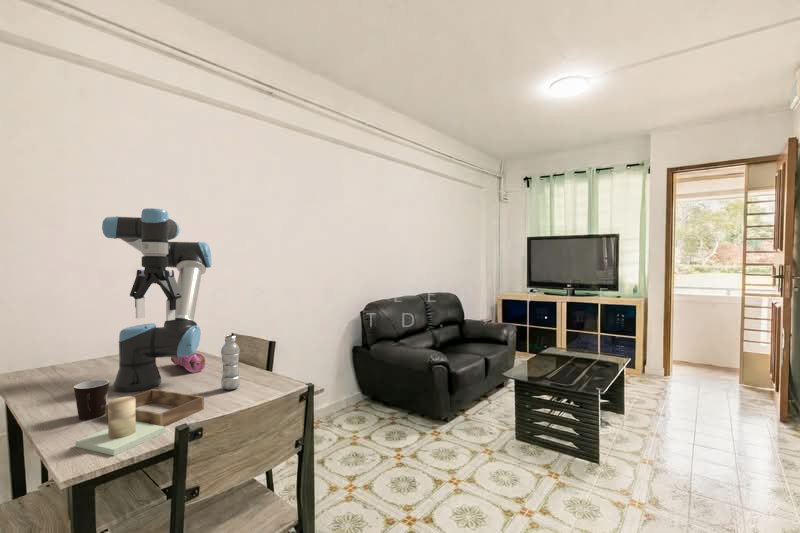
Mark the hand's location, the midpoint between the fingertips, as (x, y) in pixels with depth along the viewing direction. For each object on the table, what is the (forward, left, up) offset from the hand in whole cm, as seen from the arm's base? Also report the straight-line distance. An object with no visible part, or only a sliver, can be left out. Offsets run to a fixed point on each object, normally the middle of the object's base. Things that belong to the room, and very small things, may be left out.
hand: (155, 319), depth 129 cm
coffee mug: (-9, -15, -29) cm, 34 cm away
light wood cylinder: (+14, -22, -27) cm, 38 cm away
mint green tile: (+14, -22, -29) cm, 39 cm away
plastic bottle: (+12, +21, -29) cm, 38 cm away
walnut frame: (+7, -6, -29) cm, 30 cm away
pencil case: (-26, +37, -29) cm, 54 cm away
